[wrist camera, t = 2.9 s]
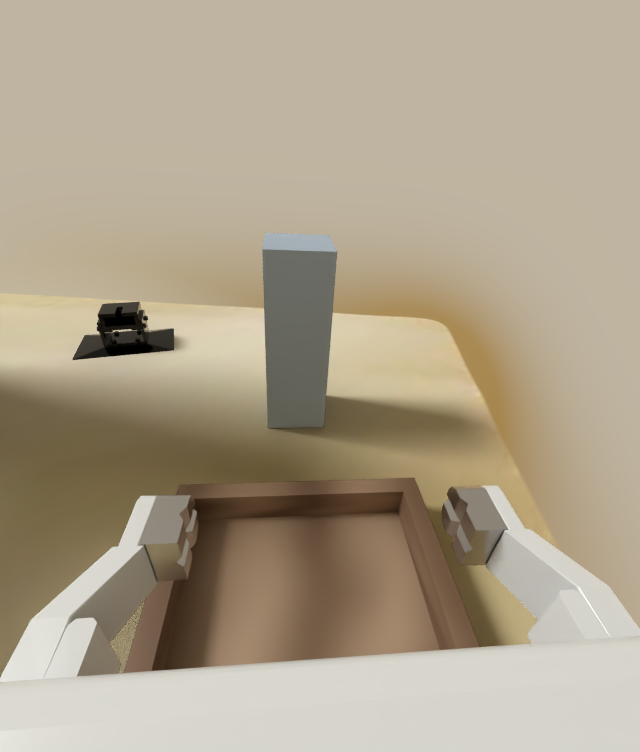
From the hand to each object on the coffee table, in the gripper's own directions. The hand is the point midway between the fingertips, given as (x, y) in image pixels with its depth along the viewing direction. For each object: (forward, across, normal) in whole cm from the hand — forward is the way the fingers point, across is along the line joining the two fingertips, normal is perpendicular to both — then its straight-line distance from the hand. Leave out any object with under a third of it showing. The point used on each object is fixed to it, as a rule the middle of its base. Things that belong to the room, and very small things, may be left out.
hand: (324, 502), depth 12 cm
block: (+17, 0, -10) cm, 20 cm away
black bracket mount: (+29, -18, -11) cm, 36 cm away
